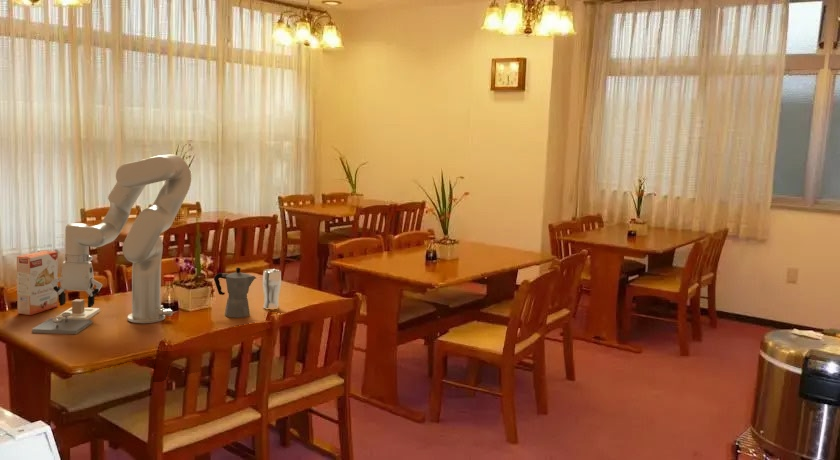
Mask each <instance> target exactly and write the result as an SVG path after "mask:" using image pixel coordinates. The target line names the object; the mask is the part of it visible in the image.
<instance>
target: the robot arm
mask: <svg viewBox="0 0 840 460" xmlns="http://www.w3.org/2000/svg"><path fill="white" fill-rule="evenodd" d="M115 179H116V183H115V185H114V187H113V188H112V190H111V191H110V193H108V196H107V199H108V201H109V209H108V210H107V212H106V214H105V216H104V218H103V220H102V221H101V222H100V223H98V224H95V225H91V226H90V225H88V224H86V223H82V222H71V223H68V224H67V225H65V232H64V233H65V236H64V237H65V239H64V241H65V242H64V244H65V245H64V246H65V247H64V249H65V251H64V252H65V255H64V261H63V263H62V267H61V271H60V277H58V279H56V280H53V281H51V284H52V286H53V287H54V290H55V291H56V292H57V294H58V304H59V306H61V307H62V306H64V305H66V301H67V299H66V292H65V291H78V292H79V291H80V292H86V293H87V295H88V296H87V308H93V306H94V305H95V295H96V294H98V293H99V292H100V290H101V288H102V287H103V283H101V282H100V281H98V280H96V279H94V278H95V277H94V268H93V264H92V262H91V261H92V260H93V259H94V257H93V256H92V255H91V254H90V247H91V248H100V247H103V246H106V245H108V244H111V243H112V242H114V241H115V240H116V239H117V238H118V236H119V235H120V234H121V232H122V230H123V229H124V227H125V226H126V224H127V222H128V220H129V217H130V215H131V211H132V208H133V207H134V205H135V204H136V202H137V200H138V198H139V197H140V195H141V194H142V192H143V190H144V189H145V187H146V186H147V185H150V184H151V185H152V184H155V183H159V182H164V184H163V185H162V186H161V188H160V190H159V192H158V194H157V196H156V198H155V200H154V202H153V203H152V204H151V205H150V206H149V207H146V208H145V209H143V210H141V211H140V212H139V214H138V215H137V216H136V217H135V220H134V221H133V224H132V225H131V227H130V230H129V231H128V233H127V235H126V237H125V239H124V241H123V244H122V254H123V256H124V258H125V259H126V260H127V261H128V262H130V263H132V266H131V269H132V270H131V308H132V309H131V311H132V312H131V313H130V314H128V315H127V321H128V322H131V323H135V324H154V323H158V322H161V321H163V320H165V319H166V316H169V317H171V316H172V317H173V314H174V310H173V309H171V308H164V305H163V304H161V301H162V298H161V296H162V288H161V287H162V281H161V280H162V279H161V277H162V257H163V253H164V252H163V250H164V245H163V243H164V242H163V240H162V238H161V234H162V233H163V232H166V231H167V230H169V229H171V227H172V225H173V223H174V221H175V218H176V217H177V215H178V213H179V211H180V209H181V207H182V205H183V202H184V200H185V199H186V197H187V194H188V193H189V190H190V189H191V188H190V187H191V184H192V173H191V169H190V167H189V165H188V163H187V162H186V161H185V160H184V158H182V157H181V156H179V155H178V154H173V153H172V154H169V153H168V154H162V155H156V156H152V157H147V158H143V159H140V160H136V161H131V162H125V163H123V164H121V165H120V166H119V167H118V168H117V170H116V173H115ZM59 282H60V283H59ZM57 283H58V285H57ZM59 284H60V285H59ZM95 286H96V287H95ZM94 287H95V289H93V288H94Z"/></svg>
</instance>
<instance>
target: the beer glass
mask: <svg viewBox="0 0 840 460" xmlns="http://www.w3.org/2000/svg"><path fill="white" fill-rule="evenodd" d="M281 286H282V271H281V269H275V268H267V269H264V270H263V273H262V290H263V295H264V298H263V299H264V301H263V307H264V308H277V307H278V306H279V307H280V303H279V296H280V291H281ZM263 307H262V308H263Z"/></svg>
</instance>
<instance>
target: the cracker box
mask: <svg viewBox="0 0 840 460" xmlns="http://www.w3.org/2000/svg"><path fill="white" fill-rule="evenodd" d="M58 253H59V252H58V251H54V250H41V251H36V252H32V253H27V254H21V255H17V256H16V298H17V299H16V301H17V303H16V304H17V305H16V306H17V309H16V310H17V314H18V315H19V314H20V315H26V316H32V315H36V314H38V313H42V312H45V311H48V310H50V309H54V308H57V307H58V305H59V295H58V294H57V292H56V291H55V290H54V287H53V286H52V284H51V281H53V280H56V279H58V278H59V277H58V273H59V272H58V271H59V269H58V266H59V265H58V264H59V263H58V262H59V261H58V258H59V257H58V255H59V254H58ZM57 285H58V286H59V282H58V283H57Z"/></svg>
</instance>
